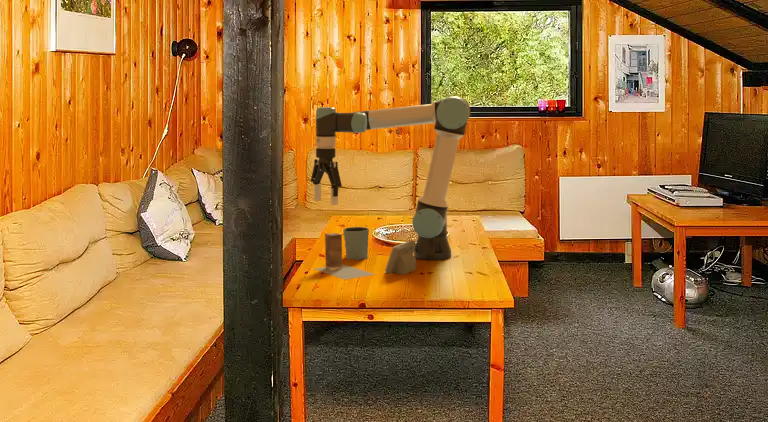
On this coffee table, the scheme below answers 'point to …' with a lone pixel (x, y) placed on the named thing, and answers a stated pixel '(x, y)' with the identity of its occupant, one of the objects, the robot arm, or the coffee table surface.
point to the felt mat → (345, 272)
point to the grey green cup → (356, 242)
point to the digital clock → (402, 259)
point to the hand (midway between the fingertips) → (325, 202)
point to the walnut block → (333, 251)
